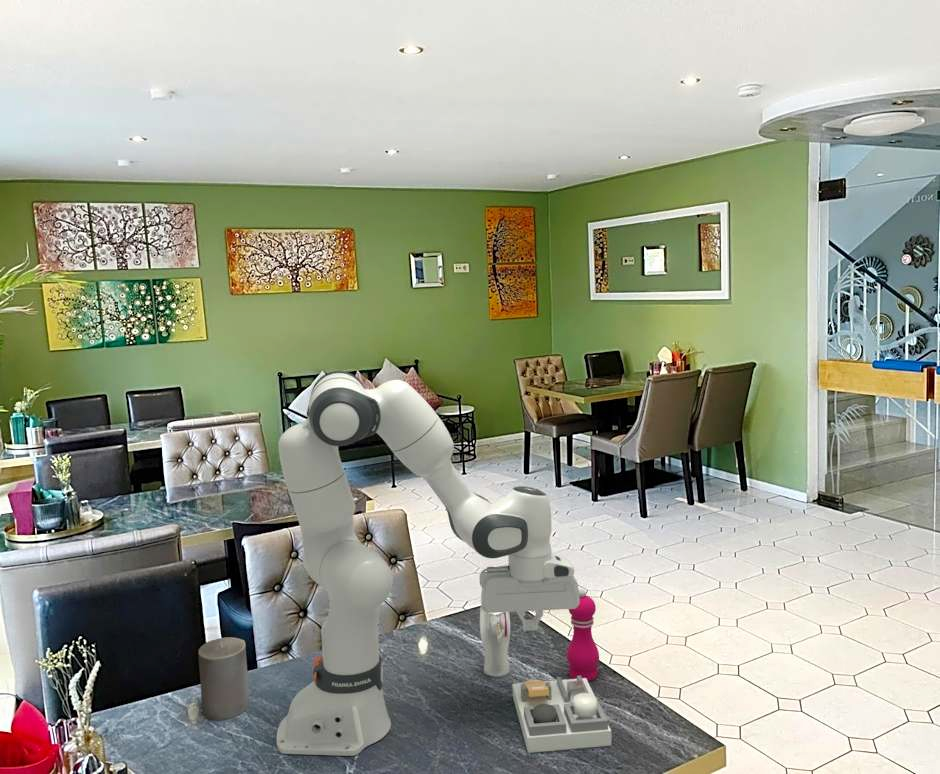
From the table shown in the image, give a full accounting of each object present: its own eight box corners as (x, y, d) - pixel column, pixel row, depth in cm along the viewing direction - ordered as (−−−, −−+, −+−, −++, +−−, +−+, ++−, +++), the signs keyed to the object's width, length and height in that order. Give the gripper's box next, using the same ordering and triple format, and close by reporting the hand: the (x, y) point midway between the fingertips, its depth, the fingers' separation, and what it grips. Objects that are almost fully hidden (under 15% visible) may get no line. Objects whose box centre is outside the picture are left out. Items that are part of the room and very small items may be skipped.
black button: (535, 729, 145) (535, 717, 144) (531, 716, 149) (531, 704, 149) (558, 727, 145) (558, 715, 145) (553, 715, 149) (553, 703, 149)
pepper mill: (598, 684, 167) (597, 596, 165) (565, 681, 169) (563, 595, 166) (600, 668, 174) (598, 584, 172) (568, 665, 176) (566, 582, 173)
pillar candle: (194, 709, 163) (188, 643, 161) (235, 690, 170) (230, 627, 168) (217, 726, 156) (211, 657, 154) (259, 706, 163) (254, 640, 161)
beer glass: (517, 667, 176) (515, 605, 174) (502, 680, 170) (500, 616, 168) (491, 660, 179) (489, 599, 178) (475, 673, 174) (473, 610, 172)
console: (528, 752, 143) (527, 723, 142) (512, 697, 163) (512, 671, 162) (611, 745, 145) (611, 716, 144) (586, 691, 164) (585, 665, 164)
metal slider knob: (570, 703, 154) (570, 689, 154) (567, 695, 157) (567, 681, 157) (585, 701, 154) (584, 687, 154) (581, 694, 157) (581, 680, 157)
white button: (576, 718, 145) (576, 706, 145) (571, 705, 150) (571, 693, 149) (599, 716, 146) (599, 704, 145) (593, 704, 150) (593, 692, 150)
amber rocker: (529, 696, 152) (528, 689, 152) (523, 687, 160) (523, 680, 160) (549, 695, 152) (548, 687, 153) (542, 686, 160) (542, 678, 160)
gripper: (481, 572, 152) (481, 638, 154) (581, 568, 154) (581, 633, 155) (477, 561, 158) (478, 625, 160) (574, 557, 160) (574, 621, 162)
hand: (530, 629), depth 158 cm, fingers closed
